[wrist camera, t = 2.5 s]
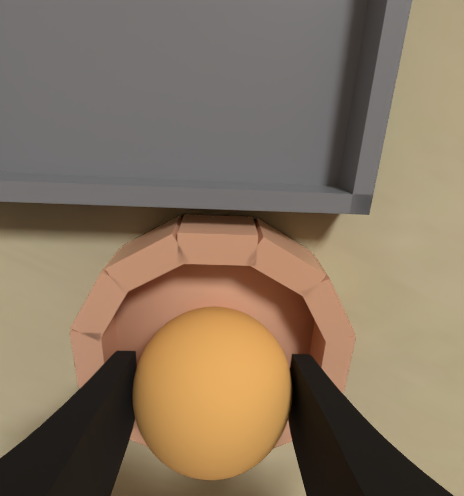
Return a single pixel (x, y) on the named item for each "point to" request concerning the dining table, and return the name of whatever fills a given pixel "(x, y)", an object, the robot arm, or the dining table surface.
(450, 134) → the dining table surface
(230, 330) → the ball
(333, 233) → the dining table surface
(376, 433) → the robot arm
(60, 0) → the tray
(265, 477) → the dining table surface
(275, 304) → the dish
